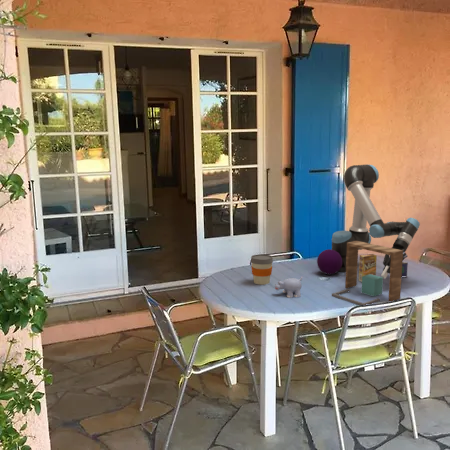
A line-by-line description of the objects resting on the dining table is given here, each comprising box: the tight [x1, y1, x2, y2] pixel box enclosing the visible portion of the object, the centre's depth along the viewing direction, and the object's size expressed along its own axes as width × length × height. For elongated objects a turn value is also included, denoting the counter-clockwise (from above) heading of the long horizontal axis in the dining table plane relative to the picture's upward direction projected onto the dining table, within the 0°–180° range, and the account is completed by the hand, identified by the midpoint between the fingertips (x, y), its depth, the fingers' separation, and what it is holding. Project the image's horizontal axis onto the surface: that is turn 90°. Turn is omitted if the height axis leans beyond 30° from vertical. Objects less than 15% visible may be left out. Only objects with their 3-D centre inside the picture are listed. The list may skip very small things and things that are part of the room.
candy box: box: [358, 253, 378, 283], centre depth 282 cm, size 9×4×15 cm, turn 107°
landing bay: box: [331, 288, 381, 306], centre depth 254 cm, size 20×13×1 cm, turn 37°
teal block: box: [361, 274, 384, 297], centre depth 261 cm, size 8×7×9 cm
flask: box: [402, 261, 409, 277], centre depth 289 cm, size 9×3×11 cm, turn 88°
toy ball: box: [316, 248, 342, 275], centre depth 296 cm, size 15×15×15 cm
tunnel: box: [344, 241, 404, 302], centre depth 260 cm, size 29×8×26 cm, turn 37°
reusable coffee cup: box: [250, 253, 274, 286], centre depth 281 cm, size 12×13×15 cm
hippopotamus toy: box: [274, 276, 304, 299], centre depth 260 cm, size 11×15×10 cm
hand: (383, 276), depth 266 cm, fingers closed
